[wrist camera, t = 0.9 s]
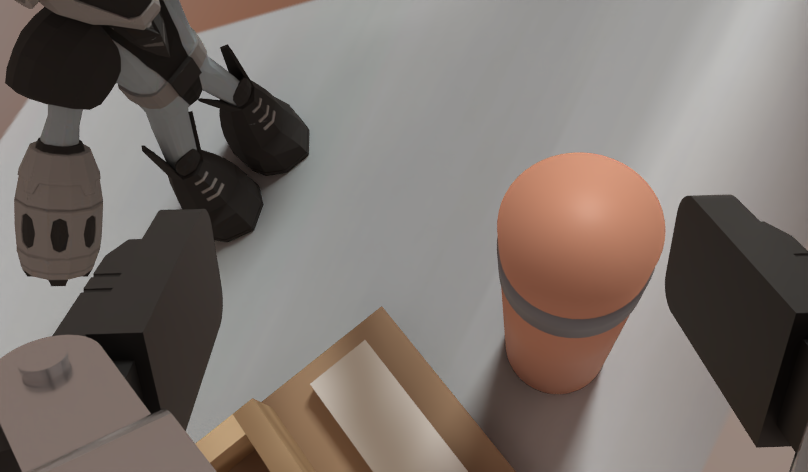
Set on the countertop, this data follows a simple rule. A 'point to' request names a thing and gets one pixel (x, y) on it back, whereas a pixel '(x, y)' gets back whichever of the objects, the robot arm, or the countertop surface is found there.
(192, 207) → the robot
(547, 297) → the banded orange cylinder
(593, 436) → the countertop surface
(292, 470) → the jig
